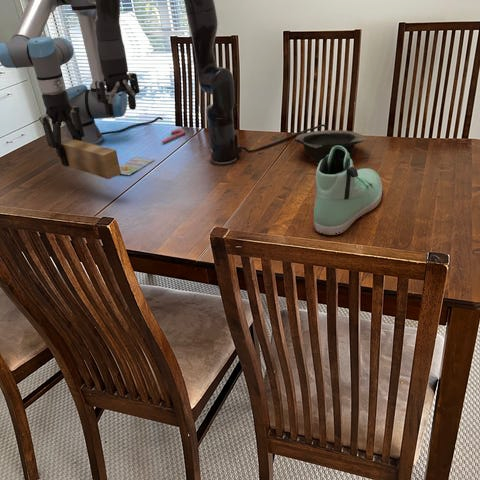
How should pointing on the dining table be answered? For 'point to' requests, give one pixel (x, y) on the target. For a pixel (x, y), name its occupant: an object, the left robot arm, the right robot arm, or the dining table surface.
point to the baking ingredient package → (133, 165)
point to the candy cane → (179, 131)
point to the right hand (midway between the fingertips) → (122, 112)
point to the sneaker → (343, 192)
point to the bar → (91, 158)
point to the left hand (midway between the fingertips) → (72, 162)
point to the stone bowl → (328, 142)
